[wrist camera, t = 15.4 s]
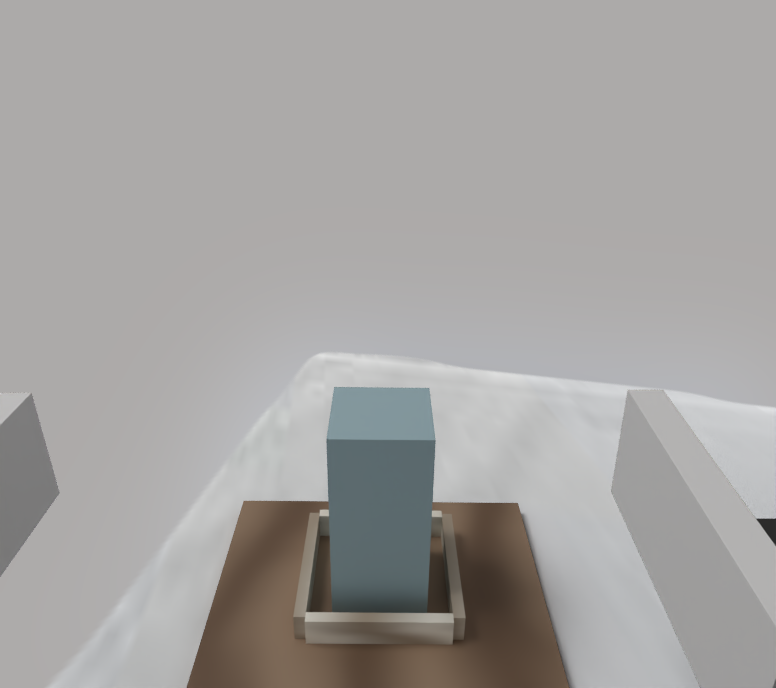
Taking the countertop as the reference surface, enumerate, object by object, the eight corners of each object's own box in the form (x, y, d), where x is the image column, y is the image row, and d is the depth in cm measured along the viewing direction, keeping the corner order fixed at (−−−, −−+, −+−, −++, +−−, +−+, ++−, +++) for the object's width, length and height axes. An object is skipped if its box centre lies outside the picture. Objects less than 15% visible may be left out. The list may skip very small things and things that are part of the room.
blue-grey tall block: (422, 550, 40) (429, 388, 35) (426, 616, 35) (435, 440, 31) (338, 549, 40) (334, 387, 35) (332, 615, 35) (326, 439, 31)
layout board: (516, 512, 44) (519, 484, 44) (568, 704, 32) (574, 670, 31) (244, 510, 44) (242, 482, 43) (187, 702, 32) (182, 667, 31)
